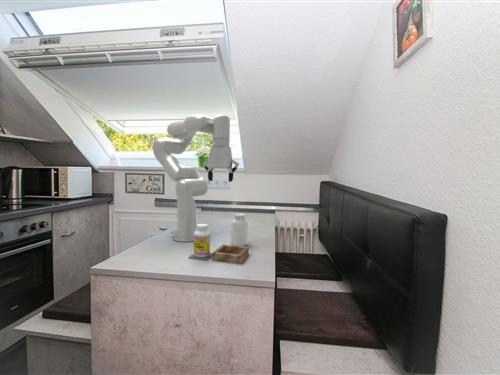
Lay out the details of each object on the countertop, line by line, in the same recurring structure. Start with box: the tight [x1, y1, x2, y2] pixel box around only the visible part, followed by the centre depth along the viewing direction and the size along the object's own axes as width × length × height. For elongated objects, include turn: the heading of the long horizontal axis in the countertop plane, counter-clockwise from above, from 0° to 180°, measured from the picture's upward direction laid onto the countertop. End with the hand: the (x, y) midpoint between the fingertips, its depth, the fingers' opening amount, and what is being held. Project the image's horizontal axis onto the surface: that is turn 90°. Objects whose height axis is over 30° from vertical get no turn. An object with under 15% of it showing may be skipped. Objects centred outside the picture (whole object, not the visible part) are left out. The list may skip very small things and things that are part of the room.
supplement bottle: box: [193, 223, 211, 257], centre depth 98 cm, size 7×7×13 cm
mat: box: [188, 252, 213, 261], centre depth 98 cm, size 8×8×1 cm
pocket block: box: [211, 244, 250, 265], centre depth 98 cm, size 12×12×3 cm
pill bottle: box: [230, 213, 249, 247], centre depth 116 cm, size 8×8×15 cm
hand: (220, 181), depth 107 cm, fingers open, 9 cm apart
